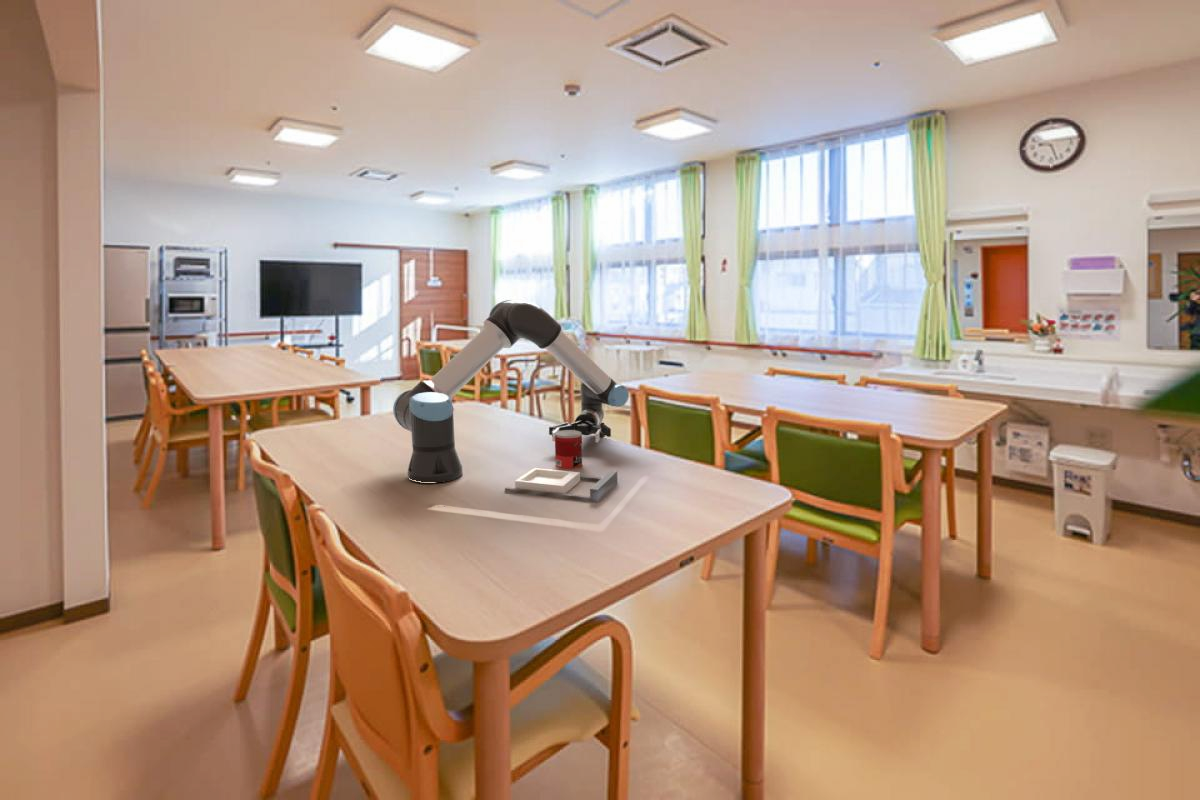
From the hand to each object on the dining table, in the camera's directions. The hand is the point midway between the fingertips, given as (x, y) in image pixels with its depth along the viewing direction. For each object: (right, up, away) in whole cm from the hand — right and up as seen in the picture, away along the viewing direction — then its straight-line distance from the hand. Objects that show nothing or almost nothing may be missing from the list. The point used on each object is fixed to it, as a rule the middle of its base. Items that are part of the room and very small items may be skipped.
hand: (574, 437), depth 189 cm
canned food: (-1, -9, -8) cm, 12 cm away
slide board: (-1, -12, -28) cm, 30 cm away
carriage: (-7, -11, -26) cm, 29 cm away
